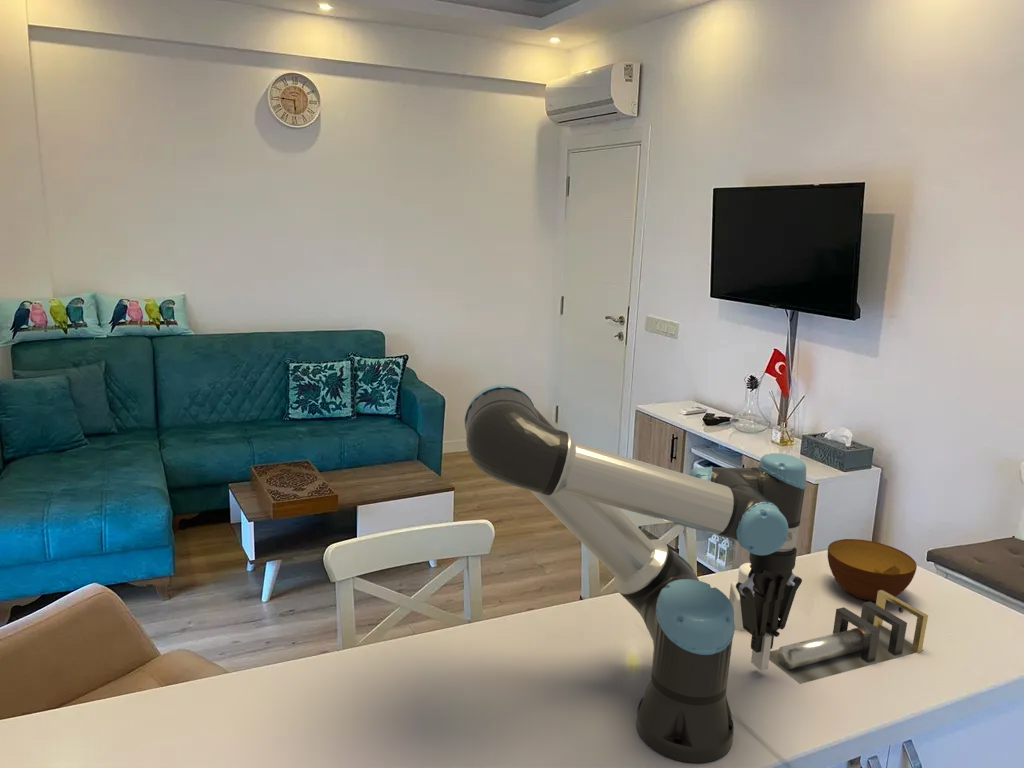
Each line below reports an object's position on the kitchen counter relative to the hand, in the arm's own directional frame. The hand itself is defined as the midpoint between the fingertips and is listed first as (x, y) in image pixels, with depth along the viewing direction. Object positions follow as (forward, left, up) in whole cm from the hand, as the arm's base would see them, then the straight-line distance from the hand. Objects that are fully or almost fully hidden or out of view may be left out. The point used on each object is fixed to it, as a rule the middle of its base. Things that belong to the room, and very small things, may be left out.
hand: (759, 665), depth 133 cm
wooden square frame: (+34, 0, -2) cm, 34 cm away
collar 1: (+23, 0, -2) cm, 23 cm away
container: (+11, +15, -3) cm, 19 cm away
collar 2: (+30, 0, -2) cm, 30 cm away
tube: (+16, 0, -2) cm, 16 cm away
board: (+20, 0, -3) cm, 21 cm away
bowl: (+44, +16, -3) cm, 47 cm away
